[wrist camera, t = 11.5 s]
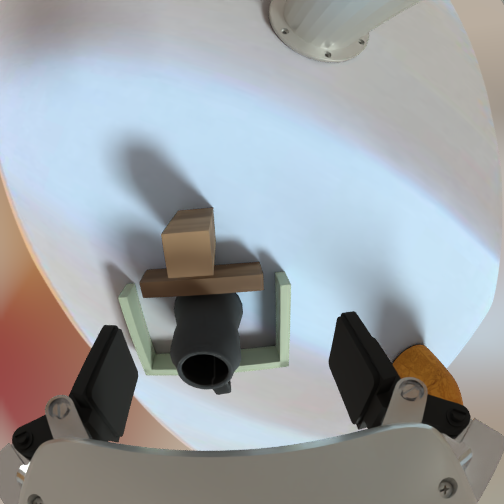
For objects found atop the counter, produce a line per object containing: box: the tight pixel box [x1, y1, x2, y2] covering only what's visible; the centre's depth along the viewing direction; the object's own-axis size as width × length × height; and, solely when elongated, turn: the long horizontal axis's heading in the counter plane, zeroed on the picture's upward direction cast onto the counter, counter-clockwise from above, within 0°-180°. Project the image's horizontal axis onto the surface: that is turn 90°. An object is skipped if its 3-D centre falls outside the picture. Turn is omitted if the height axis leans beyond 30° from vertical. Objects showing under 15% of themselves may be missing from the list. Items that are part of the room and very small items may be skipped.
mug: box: [170, 293, 243, 395], centre depth 30 cm, size 12×9×11 cm
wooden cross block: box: [140, 208, 264, 298], centre depth 27 cm, size 9×14×9 cm, turn 92°
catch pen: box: [118, 271, 291, 375], centre depth 34 cm, size 13×20×4 cm, turn 93°
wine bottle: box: [392, 345, 463, 405], centre depth 30 cm, size 10×10×30 cm
